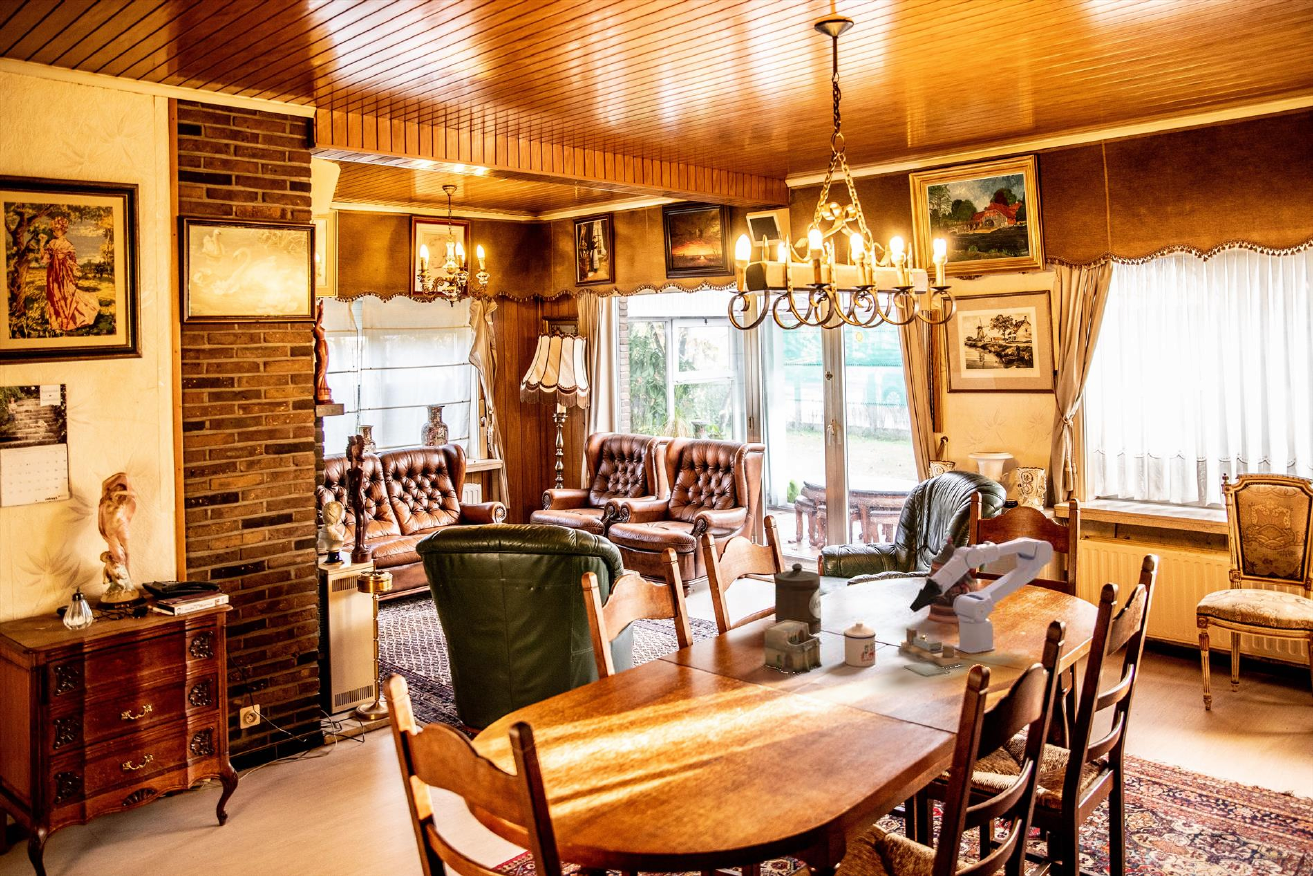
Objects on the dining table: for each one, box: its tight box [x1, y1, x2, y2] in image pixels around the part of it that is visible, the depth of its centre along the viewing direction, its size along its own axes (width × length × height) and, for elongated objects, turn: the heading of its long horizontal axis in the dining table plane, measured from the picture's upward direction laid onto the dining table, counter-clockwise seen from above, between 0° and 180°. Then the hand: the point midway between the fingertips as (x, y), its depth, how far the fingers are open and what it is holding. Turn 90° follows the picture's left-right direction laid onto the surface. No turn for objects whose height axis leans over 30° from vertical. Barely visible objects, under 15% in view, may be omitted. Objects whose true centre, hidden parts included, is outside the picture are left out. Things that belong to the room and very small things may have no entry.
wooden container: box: [774, 562, 822, 635], centre depth 323 cm, size 15×15×22 cm
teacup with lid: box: [843, 621, 876, 668], centre depth 286 cm, size 12×9×12 cm
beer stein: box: [926, 537, 979, 624], centre depth 330 cm, size 17×28×18 cm
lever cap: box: [913, 634, 943, 652], centre depth 289 cm, size 8×4×3 cm, turn 22°
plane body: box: [898, 627, 964, 670], centre depth 288 cm, size 22×6×6 cm, turn 22°
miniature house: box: [762, 620, 823, 675], centre depth 285 cm, size 15×14×11 cm
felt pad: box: [903, 661, 950, 677], centre depth 277 cm, size 8×10×1 cm
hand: (915, 606), depth 287 cm, fingers open, 7 cm apart
